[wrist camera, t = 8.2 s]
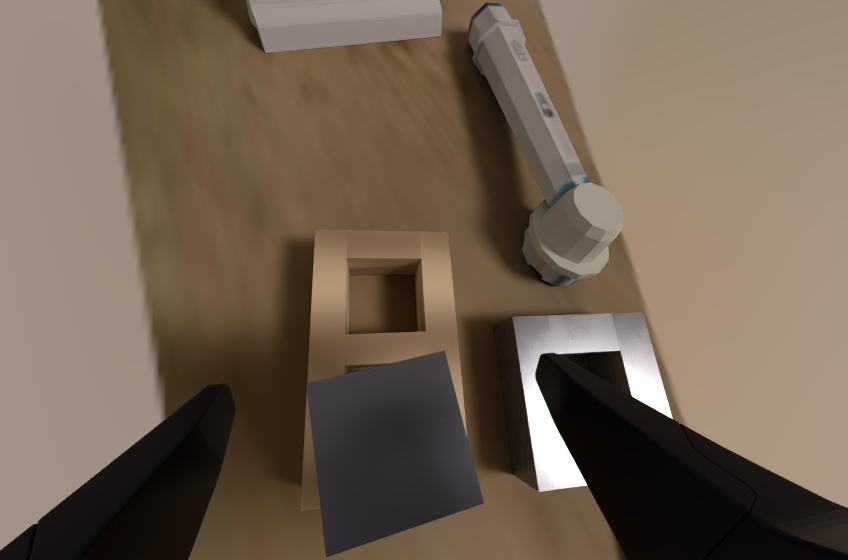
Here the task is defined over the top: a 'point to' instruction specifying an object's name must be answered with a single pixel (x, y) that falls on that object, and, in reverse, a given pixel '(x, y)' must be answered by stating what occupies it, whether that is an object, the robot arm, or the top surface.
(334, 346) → the rack
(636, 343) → the socket
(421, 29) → the grey arched slab
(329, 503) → the tall grey square pillar
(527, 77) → the white bulb-headed handheld tool
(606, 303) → the top surface
